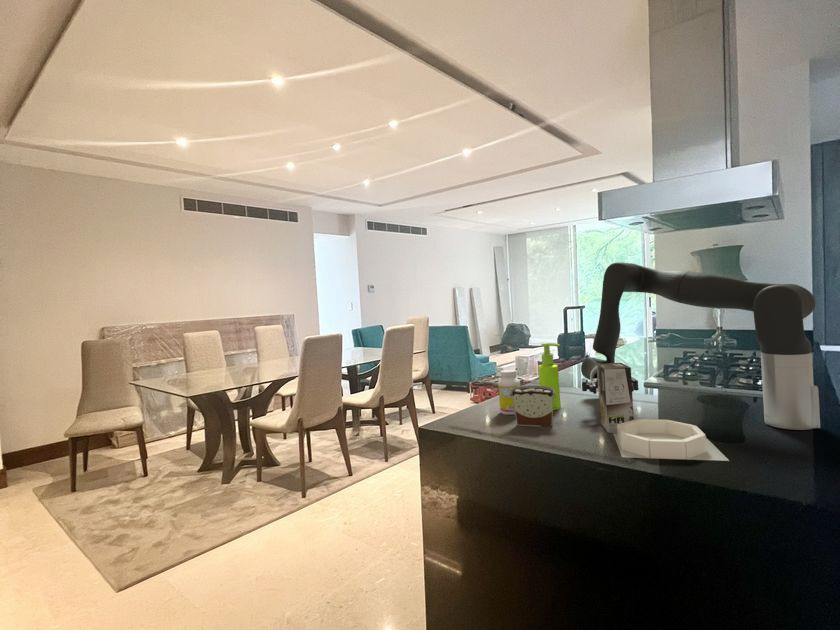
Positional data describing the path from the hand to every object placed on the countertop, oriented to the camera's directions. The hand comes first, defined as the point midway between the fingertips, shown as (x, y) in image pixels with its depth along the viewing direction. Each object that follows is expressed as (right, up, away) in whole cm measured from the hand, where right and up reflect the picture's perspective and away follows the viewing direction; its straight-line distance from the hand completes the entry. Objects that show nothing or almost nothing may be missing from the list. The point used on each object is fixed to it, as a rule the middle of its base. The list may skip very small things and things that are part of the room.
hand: (612, 389), depth 114 cm
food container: (-18, -11, +6) cm, 22 cm away
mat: (+3, -9, -19) cm, 21 cm away
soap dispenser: (-9, -9, +21) cm, 25 cm away
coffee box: (0, -9, -4) cm, 10 cm away
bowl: (+2, -9, -19) cm, 21 cm away
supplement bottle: (-22, -11, +19) cm, 31 cm away
